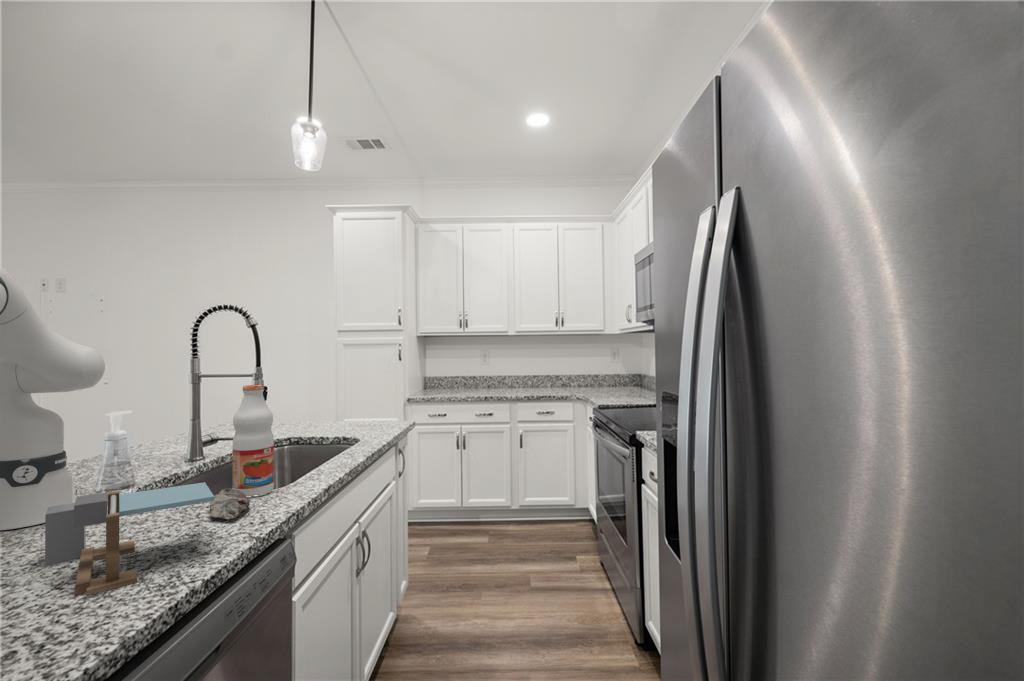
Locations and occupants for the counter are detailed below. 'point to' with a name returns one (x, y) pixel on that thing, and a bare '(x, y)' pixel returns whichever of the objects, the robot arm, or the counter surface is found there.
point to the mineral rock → (229, 504)
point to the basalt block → (62, 535)
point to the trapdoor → (138, 502)
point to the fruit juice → (253, 444)
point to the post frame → (112, 559)
